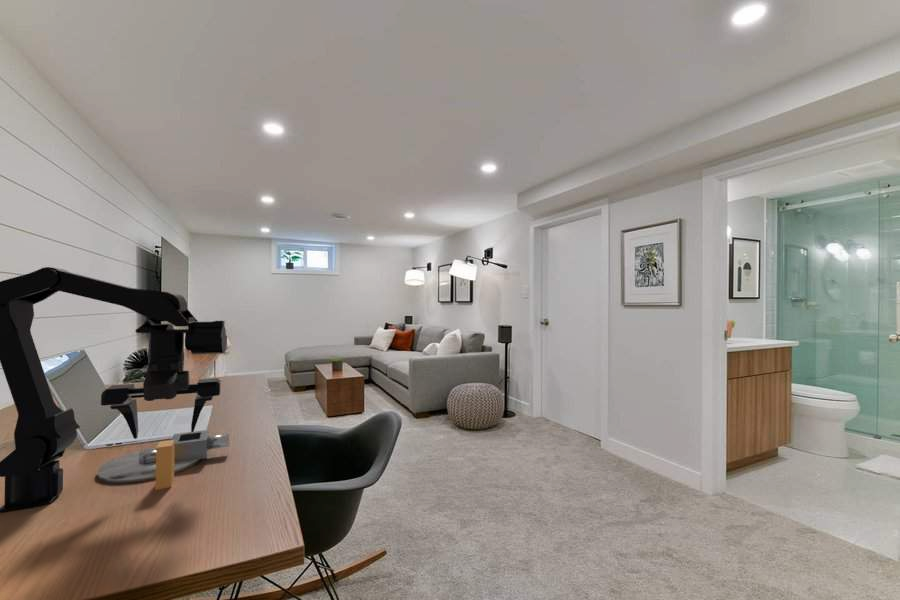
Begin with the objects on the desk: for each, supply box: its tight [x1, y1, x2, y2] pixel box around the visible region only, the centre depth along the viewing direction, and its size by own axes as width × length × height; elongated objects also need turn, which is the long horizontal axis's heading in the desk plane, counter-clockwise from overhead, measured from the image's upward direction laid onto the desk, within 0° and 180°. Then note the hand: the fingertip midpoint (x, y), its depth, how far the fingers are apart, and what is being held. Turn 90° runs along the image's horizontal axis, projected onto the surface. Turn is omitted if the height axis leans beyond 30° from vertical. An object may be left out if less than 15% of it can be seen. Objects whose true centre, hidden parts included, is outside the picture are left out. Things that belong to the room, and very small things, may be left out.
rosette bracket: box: [97, 429, 230, 484], centre depth 90 cm, size 24×18×5 cm
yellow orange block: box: [155, 439, 175, 491], centre depth 79 cm, size 2×4×8 cm, turn 28°
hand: (165, 434), depth 79 cm, fingers open, 9 cm apart
